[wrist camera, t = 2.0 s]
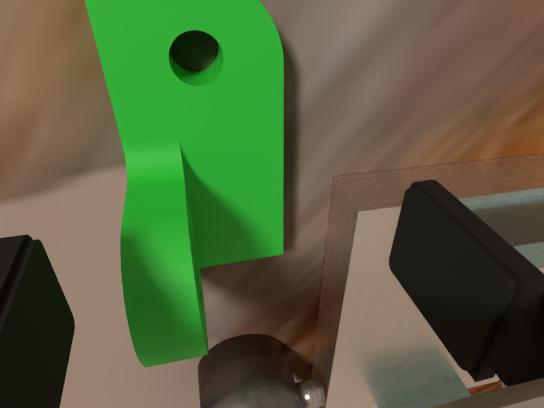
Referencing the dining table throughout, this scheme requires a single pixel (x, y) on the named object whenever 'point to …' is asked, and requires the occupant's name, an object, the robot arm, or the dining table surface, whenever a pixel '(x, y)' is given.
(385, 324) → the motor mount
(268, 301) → the dining table surface
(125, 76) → the mechanical part
